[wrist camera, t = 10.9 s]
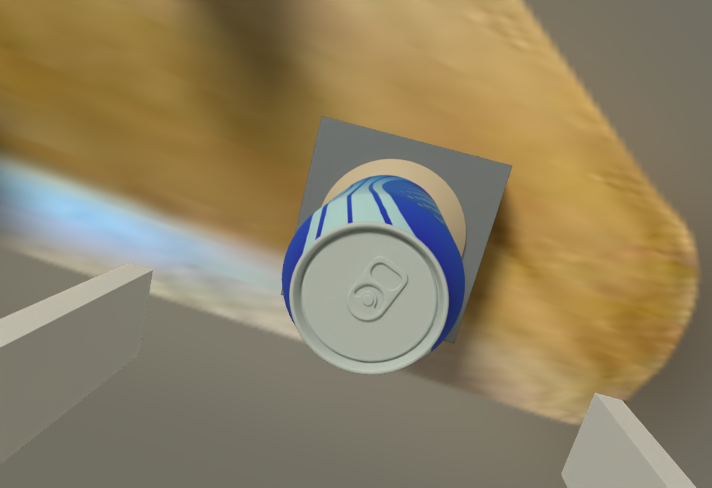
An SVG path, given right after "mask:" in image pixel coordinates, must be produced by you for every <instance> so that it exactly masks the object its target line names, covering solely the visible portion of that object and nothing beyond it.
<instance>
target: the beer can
mask: <svg viewBox="0 0 712 488" xmlns="http://www.w3.org/2000/svg"><path fill="white" fill-rule="evenodd" d="M282 288H283V295H284V300H285V303H286V307H287V309H288V312H289V315H290V317H291V319H292V321H293V323H294V324H295V326H296V328H297V330H298V332H299V333H300V335H301V337H302V338H303V340H304V341H305V343H306V344H307V345H308V346H309V347H310V348H311V350H313V351H314V352H315V353H316V354H317V355H318V356H320V357H321V358H322V359H323V360H325V361H326V362H328V363H329V364H331V365H333V366H335V367H337V368H340V369H342V370H345V371H349V372H353V373H357V374H365V375H376V374H385V373H390V372H394V371H397V370H400V369H403V368H405V367H407V366H409V365H411V364H412V363H414V362H416V361H417V360H419V359H421V358H422V357H424V356H426V355H427V354H428V353H430V352H431V351H433V350H434V349H435V348H436V347H437V346H438V345H439V344H440V343H441V342H442V341H443V340H444V339H445V338H446V336H447V335H448V334H449V332H450V331H451V329H452V328H453V326H454V325H455V323H456V321H457V318H458V316H459V314H460V311H461V308H462V304H463V300H464V293H465V274H464V267H463V262H462V259H461V255H460V252H459V250H458V248H457V245H456V243H455V241H454V239H453V237H452V235H451V233H450V231H449V229H448V227H447V225H446V222H445V220H444V218H443V216H442V214H441V212H440V210H439V208H438V206H437V204H436V203H435V201H434V200H433V198H432V197H431V196H430V195H429V194H428V193H427V192H426V191H425V190H424V189H423V188H422V187H420V186H419V185H417V184H416V183H414V182H412V181H410V180H408V179H405V178H402V177H398V176H393V175H377V176H371V177H368V178H365V179H362V180H360V181H358V182H356V183H354V184H352V185H351V186H350V187H348V188H347V189H345V190H344V191H343V192H341V193H340V194H339V195H337V196H336V197H335V198H333V199H332V200H330V201H329V202H328V203H326V204H325V205H324V206H322V207H321V208H320V209H318V210H317V211H316V212H314V213H313V214H312V215H311V216H310V217H309V218H308V219H307V220H306V221H305V222H304V223H303V224H302V225H301V227H300V228H299V229H298V231H297V232H296V234H295V235H294V237H293V239H292V241H291V243H290V245H289V247H288V250H287V253H286V256H285V260H284V264H283V271H282Z"/></svg>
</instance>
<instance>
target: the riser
mask: <svg viewBox="0 0 712 488" xmlns="http://www.w3.org/2000/svg"><path fill="white" fill-rule="evenodd" d="M511 168H512V166H511V165H508V164H504V163H500V162H496V161H492V160H488V159H485V158H481V157H477V156H473V155H469V154H465V153H462V152H458V151H454V150H450V149H446V148H442V147H439V146H435V145H431V144H427V143H423V142H419V141H416V140H412V139H408V138H404V137H400V136H396V135H393V134H389V133H385V132H381V131H377V130H373V129H370V128H366V127H362V126H358V125H354V124H350V123H347V122H343V121H339V120H335V119H331V118H327V117H324V116H322V117H321V122H320V126H319V131H318V135H317V139H316V144H315V148H314V152H313V157H312V161H311V165H310V170H309V174H308V179H307V183H306V187H305V192H304V196H303V200H302V205H301V209H300V213H299V218H298V222H297V227H296V231H295V234H296V232H297V231H298V229H299V228H300V227H301V225H302V224H303V223H304V222H305V221H306V220H307V219H308V218H309V217H310V216H311V215H312V214H313V213H314V212H316V211H317V210H318V209H320V208H321V207H322V206H324V205H325V204H326V203H328V202H329V201H330V200H332V199H333V198H335V197H336V196H337V195H339V194H340V193H341V192H343V191H344V190H345V189H347V188H348V187H350V186H351V185H352V184H354V183H356V182H358V181H360V180H362V179H365V178H368V177H371V176H377V175H393V176H398V177H402V178H405V179H408V180H410V181H412V182H414V183H416V184H417V185H419V186H420V187H422V188H423V189H424V190H425V191H426V192H427V193H428V194H429V195H430V196H431V197H432V198H433V200H434V201H435V203H436V204H437V206H438V208H439V210H440V212H441V214H442V216H443V218H444V220H445V222H446V225H447V227H448V229H449V231H450V233H451V235H452V237H453V239H454V241H455V243H456V245H457V248H458V250H459V252H460V255H461V259H462V262H463V267H464V274H465V293H464V300H463V304H462V308H461V311H460V314H459V316H458V318H457V321H456V323H455V325H454V326H453V328H452V329H451V331H450V332H449V334H448V335H447V336H446V338H445V339H444V341H448V342H451V343H454V342H455V339H456V336H457V333H458V330H459V327H460V324H461V321H462V318H463V315H464V312H465V309H466V306H467V303H468V299H469V296H470V293H471V290H472V287H473V284H474V281H475V278H476V275H477V272H478V269H479V266H480V263H481V260H482V257H483V254H484V251H485V248H486V245H487V241H488V238H489V235H490V232H491V229H492V226H493V223H494V220H495V217H496V214H497V211H498V208H499V205H500V202H501V199H502V196H503V193H504V190H505V187H506V184H507V180H508V177H509V174H510V171H511ZM281 295H283V288H282V292H281Z"/></svg>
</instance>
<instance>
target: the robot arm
mask: <svg viewBox="0 0 712 488" xmlns="http://www.w3.org/2000/svg"><path fill="white" fill-rule="evenodd" d="M152 272H153V270H151V269H148V268H144V267H141V266H137V265H134V264H130V263H127V264H125V265H122V266H120V267H118V268H115V269H113V270H111V271H109V272H106V273H104V274H102V275H99V276H97V277H95V278H93V279H90V280H88V281H86V282H83V283H81V284H79V285H77V286H74V287H72V288H70V289H67V290H65V291H63V292H61V293H58V294H56V295H54V296H51V297H49V298H47V299H45V300H42V301H40V302H38V303H36V304H33V305H31V306H28V307H26V308H24V309H22V310H19V311H18V312H15V313H12V314H10V315H8V316H6V317H3V318H1V319H0V465H1V464H3V463H4V462H5V461H6V460H8V459H9V458H10V457H11V456H13V455H14V454H15V453H16V452H18V451H19V450H20V449H21V448H23V447H24V446H25V445H26V444H27V443H29V442H30V441H31V440H32V439H34V438H35V437H36V436H37V435H38V434H40V433H41V432H42V431H44V430H45V429H46V428H47V427H48V426H50V425H51V424H52V423H54V422H55V421H56V420H57V419H59V418H60V417H61V416H62V415H64V414H65V413H66V412H67V411H69V410H70V409H71V408H72V407H74V406H75V405H76V404H77V403H79V402H80V401H81V400H82V399H84V398H85V397H86V396H87V395H89V394H90V393H91V392H92V391H94V390H95V389H96V388H97V387H98V386H100V385H101V384H102V383H104V382H105V381H106V380H107V379H109V378H110V377H111V376H112V375H114V374H115V373H116V372H117V371H118V370H120V369H121V368H122V367H124V366H125V365H126V364H127V363H129V362H130V361H131V360H132V359H134V358H135V357H136V356H137V355H139V352H140V347H141V340H142V334H143V327H144V322H145V316H146V309H147V303H148V297H149V291H150V284H151V278H152ZM561 475H562V477H563V479H564V481H565V483H566V485H567V488H696V487H695V486H694V484H693V483H692V482H691V481H690V480H689V479H688V477H687V476H686V475H685V474H684V473H683V472H682V470H681V469H680V468H679V467H678V466H677V465H676V463H675V462H674V461H673V460H672V459H671V458H670V457H669V455H668V454H667V453H666V452H665V451H664V449H663V448H662V447H661V446H660V445H659V443H658V442H657V441H656V440H655V439H654V438H653V436H652V435H651V434H650V433H649V432H648V431H647V429H646V428H645V427H644V426H643V425H642V423H641V422H640V421H639V420H638V419H637V418H636V416H635V415H634V414H633V413H632V412H631V411H630V409H629V408H628V407H627V406H626V405H625V404H624V402H623V401H622V400H619V399H615V398H612V397H608V396H604V395H601V394H597V393H595V394H594V396H593V399H592V401H591V403H590V406H589V408H588V411H587V413H586V416H585V418H584V420H583V423H582V425H581V428H580V430H579V432H578V435H577V438H576V440H575V442H574V445H573V447H572V449H571V452H570V454H569V457H568V459H567V461H566V464H565V467H564V469H563V471H562V473H561Z"/></svg>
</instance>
